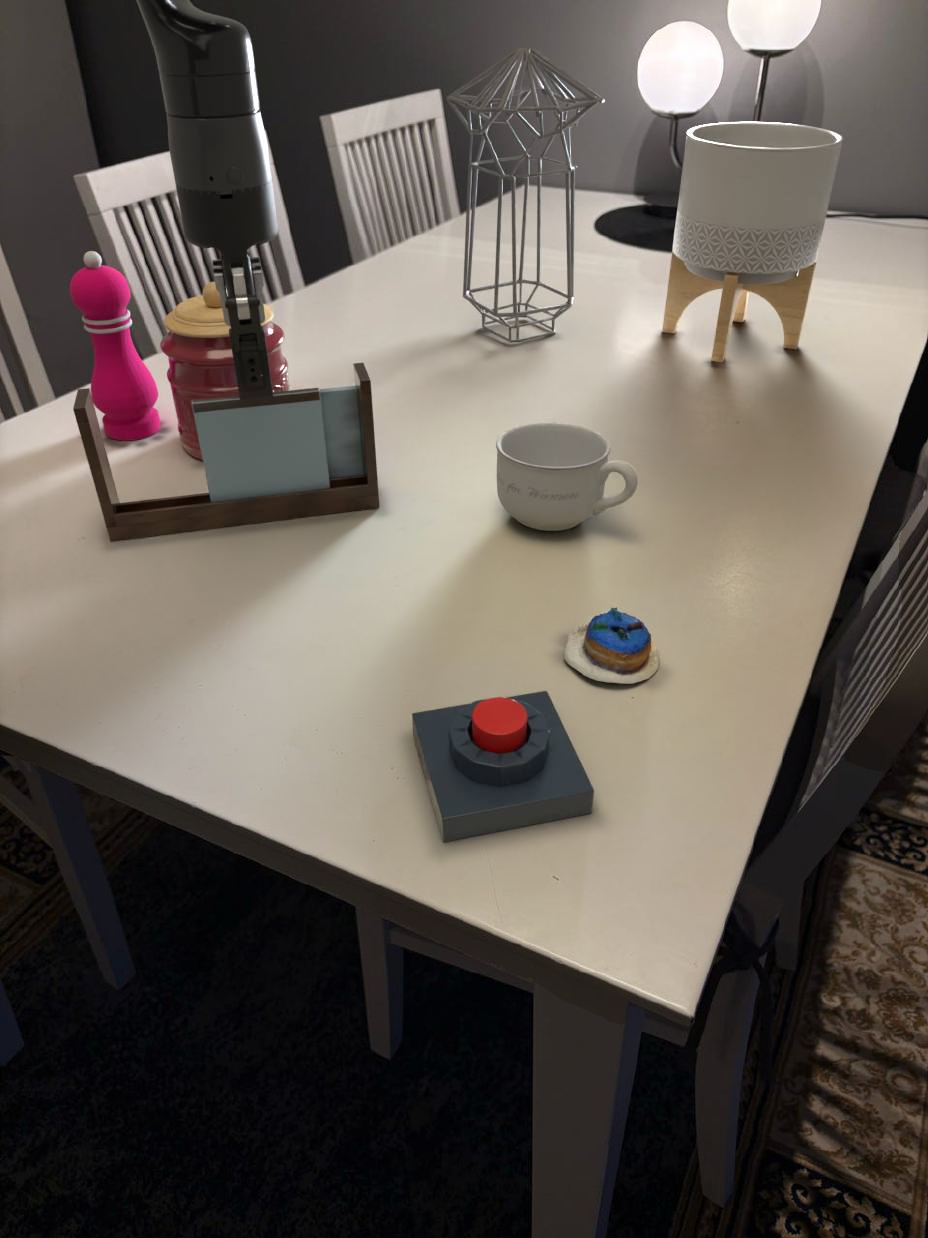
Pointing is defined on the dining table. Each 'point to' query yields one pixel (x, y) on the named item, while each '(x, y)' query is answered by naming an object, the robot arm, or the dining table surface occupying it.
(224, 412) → the window pane
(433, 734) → the button box
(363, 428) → the window frame
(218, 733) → the dining table surface
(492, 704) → the button
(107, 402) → the pepper mill
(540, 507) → the teacup
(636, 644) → the dessert
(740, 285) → the planter
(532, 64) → the geometric lantern
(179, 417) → the kitchen canister
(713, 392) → the dining table surface
